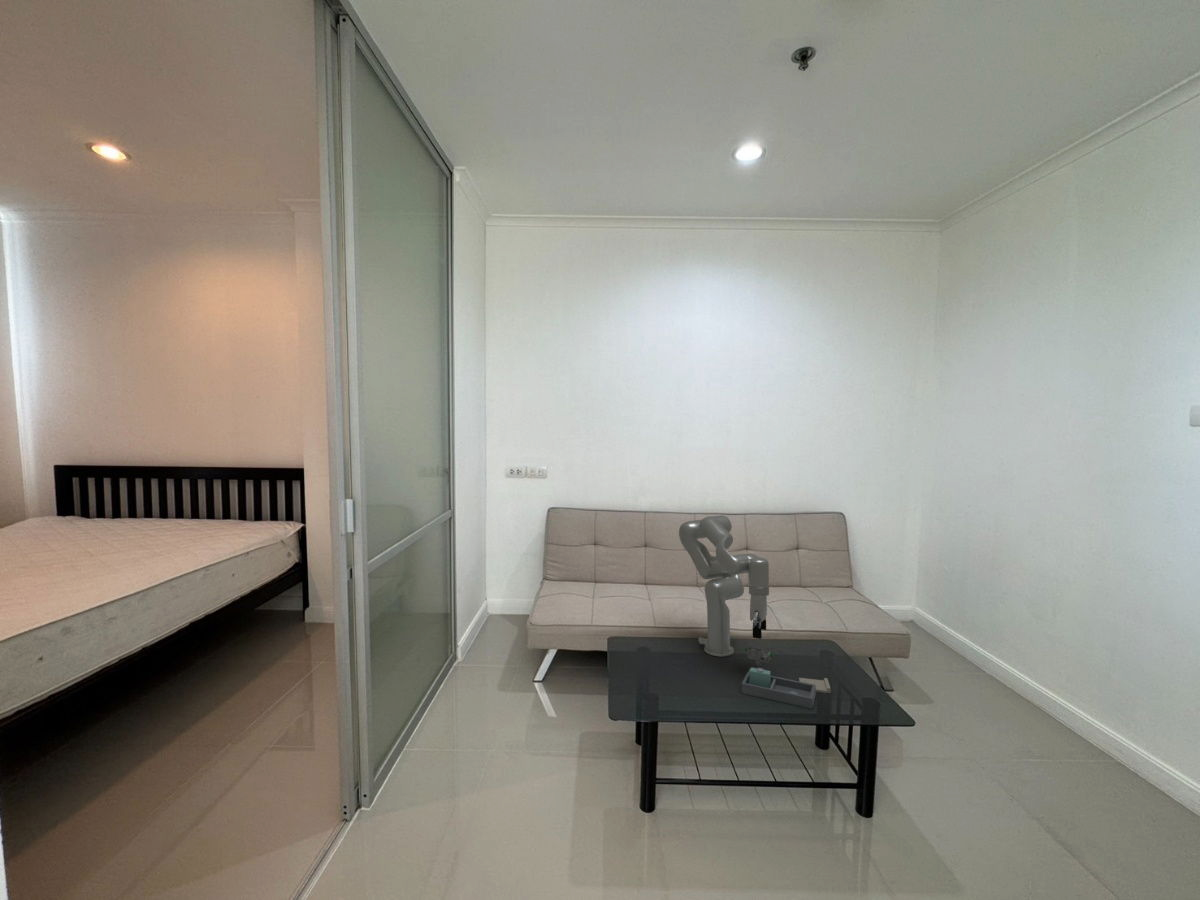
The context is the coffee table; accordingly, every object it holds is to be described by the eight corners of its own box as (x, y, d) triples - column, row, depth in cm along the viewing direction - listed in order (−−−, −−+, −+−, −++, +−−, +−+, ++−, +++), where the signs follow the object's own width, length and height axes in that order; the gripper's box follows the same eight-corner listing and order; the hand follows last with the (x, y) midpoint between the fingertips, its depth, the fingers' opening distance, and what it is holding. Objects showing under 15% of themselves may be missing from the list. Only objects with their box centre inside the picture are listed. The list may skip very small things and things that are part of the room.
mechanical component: (771, 679, 194) (771, 654, 193) (745, 673, 199) (744, 648, 199) (773, 676, 196) (773, 651, 196) (747, 670, 202) (747, 645, 201)
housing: (741, 693, 184) (741, 672, 184) (748, 680, 194) (748, 660, 194) (812, 709, 173) (812, 687, 173) (815, 694, 183) (815, 673, 182)
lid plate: (801, 689, 186) (801, 685, 186) (799, 679, 194) (798, 675, 193) (830, 693, 183) (830, 688, 183) (827, 682, 191) (827, 678, 191)
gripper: (753, 583, 206) (754, 624, 206) (744, 594, 191) (745, 639, 191) (772, 585, 203) (773, 627, 203) (764, 597, 187) (765, 643, 188)
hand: (759, 633), depth 197 cm, fingers open, 9 cm apart
